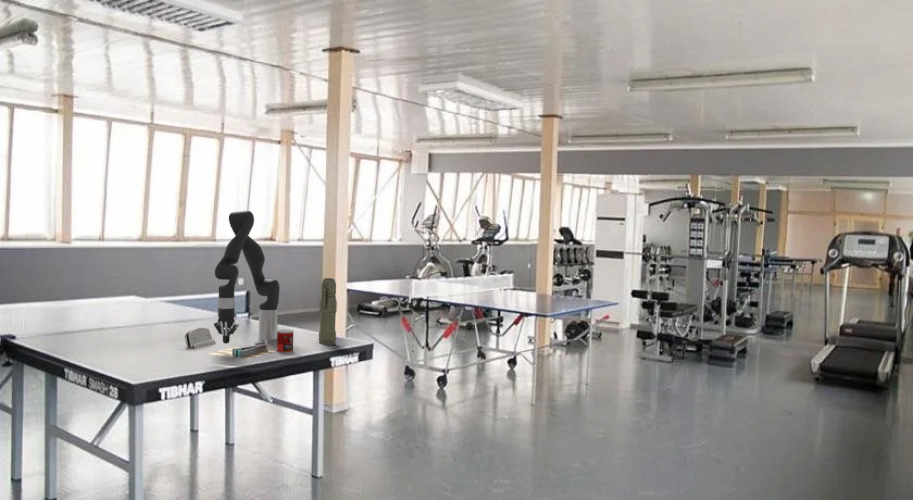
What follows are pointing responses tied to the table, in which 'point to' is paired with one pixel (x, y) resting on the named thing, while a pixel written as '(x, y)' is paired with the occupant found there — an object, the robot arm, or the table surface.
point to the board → (229, 353)
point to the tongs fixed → (253, 350)
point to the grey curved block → (199, 338)
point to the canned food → (285, 340)
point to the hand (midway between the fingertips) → (226, 343)
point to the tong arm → (244, 348)
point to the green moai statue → (328, 312)
